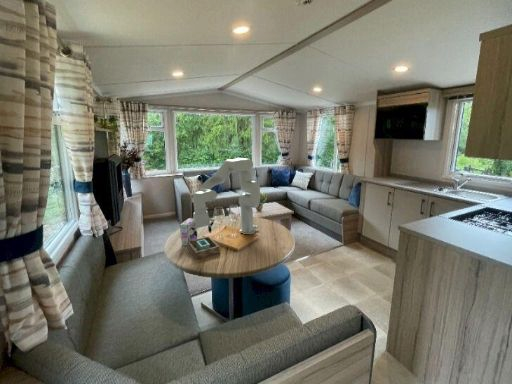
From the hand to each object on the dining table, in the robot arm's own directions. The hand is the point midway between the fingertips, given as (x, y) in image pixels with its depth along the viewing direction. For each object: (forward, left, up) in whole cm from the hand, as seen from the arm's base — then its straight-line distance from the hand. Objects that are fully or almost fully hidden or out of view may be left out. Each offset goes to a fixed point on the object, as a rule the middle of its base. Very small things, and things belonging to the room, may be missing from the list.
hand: (203, 233), depth 171 cm
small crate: (+1, 0, -11) cm, 11 cm away
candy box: (+5, -19, -12) cm, 23 cm away
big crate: (+1, 0, -12) cm, 12 cm away
